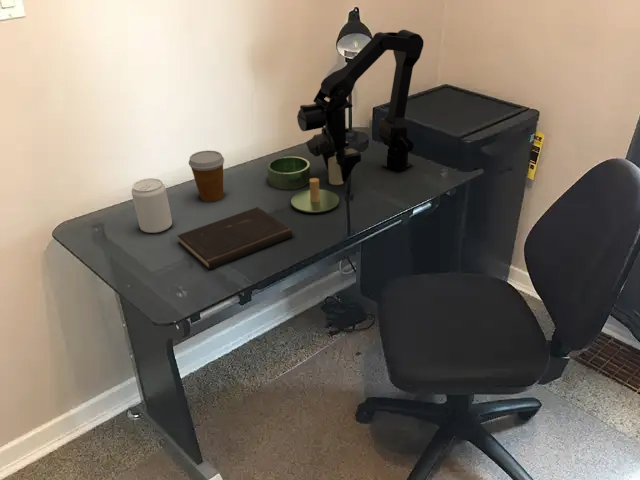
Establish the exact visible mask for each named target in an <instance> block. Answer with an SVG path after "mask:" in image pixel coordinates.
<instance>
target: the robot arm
mask: <svg viewBox="0 0 640 480" xmlns="http://www.w3.org/2000/svg"><path fill="white" fill-rule="evenodd" d="M424 43H425V41H424V39H423V37H422V35H421V34H418V33H416V32H413V31H411V30H408V29H400V30H399V31H398V32H394V31H389V32H388V31H387V32H382V31H378V32H376V33H375V34H374V35H373V36H372V38H371V39H370V40H369V41H368V42H367V43H366V45H364V46H363V48H361V49H360V50H359V52H357V53H356V54H355V55H354V57H353V58H351V60H349V62H347V64H345V66H343V67H342V68H340V69H338V70H335V71H333V72H332V73H330V74H329V75H327V76H326V77H325V78H323V80H322V81H321V83H320V88H319V89H318V91H317V94H316V95H315V97H314V99H313V100H312V101H313V103H311V104H310V103H309V104H301V105H300V106H299V110H298V112H297V116H296V119H297V125H298V127H299V129H300V130H301V131H302V132H309V131H313V130H319V129H321V132H320V133H316V134H314V135H313V136H312V137H311V138H310V139H309V140H307V141H306V142H305V144H306V146H307V149H308V151H309V153H310V154H312V155H313V156H314V157H319V156H322V158H323V163H324V164H325V169H326V170H327V171H328V159H329V158H330V157H334V156H336V160H337V162H336V163H337V164H338V165H339V166H340V169H341V176H342V181H343V182H344V183H346V182H347V181H348V179H349V177H350V175H351V173H352V171H353V170H354V168H355V166H356V165H357V164H359V163H360V162H362V154H361V153H360V152H359V151H358V150H356V149H355V148H353V147H352V148H346V147H349V146H350V143H349V142H348V141H347V133H349V132H350V131H349V129H350V128H349V127H347V126H346V123H347V122H346V109H349V108H353V107H354V106H353V104H352V103H351V102H350V101H349V100H348V97H349V96H350V95H351V94H352V92H353V90H354V88H355V84H356V83H357V81H358V80H359V79H360V78H361V77H362V76H363V75H364V74H365V73H366V71H368V70H369V69H370V68H371V66H373V65H374V63H376V62H377V61H378V60H379V59H380V57H382V56H383V54H385V53H386V51H392V52H393V57H394V61H395V68H394V75H393V81H392V87H391V92H390V93H391V94H390V99H389V105H388V112H387V114H386V116H385V117H384V118H383V117H382V118H381V117H380V119H379V123H378V124H379V126H378V128H377V133H378V136H379V138H380V139H381V141H383V145H385V146H387V147H388V148H387V154H386V163H384V164H383V165H382V166H383V168H385V169H389V170H391V171H395V172H397V173H400V172H402V171H405V170H407V169H408V168H410V167H412V163H409V152H413V150H414V149H413V148H414V146H415V143H413V142H412V141H411V140H410V139H409V138H408V126H407V121H406V116H405V115H406V110H407V104H408V98H409V92H410V87H411V81H412V75H413V70H414V69H413V68H414V67H415V65H416V64H417V62H418V61H419V60H420V58H421V55H422V52H423V49H424ZM326 99H328V100H326Z"/></svg>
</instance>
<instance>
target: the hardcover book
mask: <svg viewBox="0 0 640 480" xmlns="http://www.w3.org/2000/svg"><path fill="white" fill-rule="evenodd" d="M177 237H178V238H179V239H178V240H179V241H178V244H179V245H180V246H182V247H183V248H184V249H185V250H186V251H187V252H188V253H189V254H191V255H192V256H193V257H194V258H195V259H196V260H198V262H199V263H200V264H202V265H203V266H204V267H205V268H206V269H207V270H212V269H214V268H217V267H219V266H222V265H225V264H227V263H230V262H233V261H235V260H238V259H240V258H242V257H245V256H248V255H250V254H252V253H255V252H257V251H260V250H263V249H265V248H269V247H270V246H273V245H275V244H278V243H281V242H282V241H285V240H288V239H291V238H293V231H292V229H291V228H289V227H288V226H287V225H285V224H283V223H282V222H281V221H280V220H278V219H276V218H275V217H273V216H272V215H271V214H269V213H267V212H266V211H264V209H262V208H260V207H259V206H256V207H254V208H251V209H248V210H245V211H242V212H239V213H237V214H234V215H230V216H228V217H225V218H223V219H219V220H217V221H214V222H211V223H207V224H205V225H202V226H199V227H197V228H194V229H191V230H188V231H185V232H183V233H180V234H177Z"/></svg>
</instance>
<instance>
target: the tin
mask: <svg viewBox="0 0 640 480" xmlns="http://www.w3.org/2000/svg"><path fill="white" fill-rule="evenodd" d="M266 167H267V178H268V183H269V185H270V186H271V187H273V188H275V189H278V190H287V191H288V190H289V191H290V190H298V189H302V188H304V187H306V186H307V185H310V182H309V180H310V179H311V176H312V175H311V163H310V161H308V159H306V158H303V157H300V156H280V157H277V158H274V159H272V160H271V161H269V162H268V163H267V165H266Z"/></svg>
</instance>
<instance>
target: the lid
mask: <svg viewBox="0 0 640 480" xmlns="http://www.w3.org/2000/svg"><path fill="white" fill-rule="evenodd" d="M290 204H291V206H292V208H294V210H296V211H298V212H299V211H300V212H302V213H306V214H307V213H308V214H320V213H326V212H329V211H332V210H334V209H335V208H337V206H339V204H340V197H339V195H338V194H336V193H335V192H333V191H330V190H327V189H320V179H319V178H317V177H312V178H310V180H309V189H306V190H302V191H300V192H297V193H295V194H294V195H293V196H292V198H291V200H290Z"/></svg>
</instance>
